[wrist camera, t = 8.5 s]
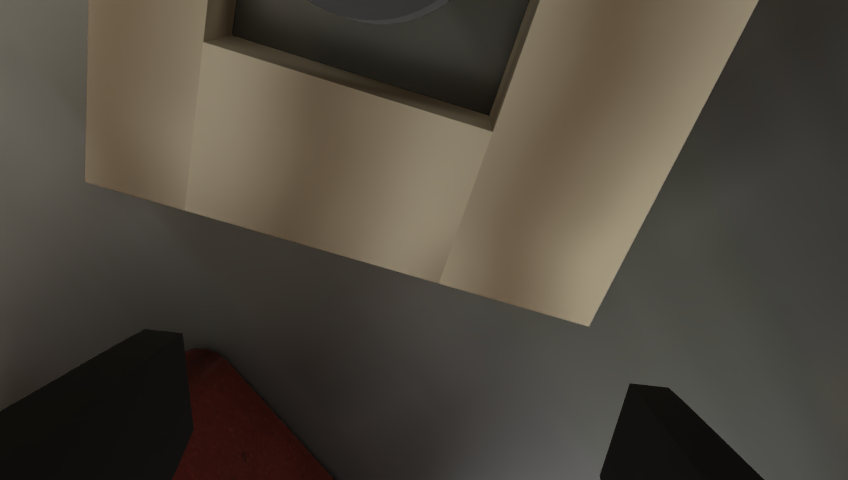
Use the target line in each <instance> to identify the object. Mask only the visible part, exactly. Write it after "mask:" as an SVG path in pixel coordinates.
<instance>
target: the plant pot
mask: <svg viewBox="0 0 848 480" xmlns="http://www.w3.org/2000/svg"><path fill="white" fill-rule="evenodd" d="M185 359H186V367H187V376H188V384H189V392H190V401H191V409H192V418H193V426H194V430H193V433H192V435H191V437H190V440H189V442H188V444H187V447H186V449H185V451H184V454H183V456H182V459H181V461H180V463H179V465H178V467H177V470H176V472H175V474H174V476H173V478H172V480H334V479H333V478H332V477H331V476H330V474H329V473H328V472H327V471H326V470H325V469H324V468H323V467H322V466H321V464H320V463H319V462H318V461H317V460H316V459H315V458H314V457H313V455H312V454H311V453H310V452H309V451H308V450H307V449H306V448H305V446H304V445H303V444H302V443H301V442H300V441H299V440H298V439H297V438H296V437H295V436H294V435H293V433H292V432H291V431H290V430H289V429H288V427H287V426H286V425H285V424H284V423H283V422H282V421H281V420H280V419H279V418H278V417H277V416H276V415H275V413H274V412H273V411H272V410H271V409H270V408H269V407H268V406H267V404H266V403H265V402H264V401H263V400H262V399H261V398H260V397H259V395H258V394H257V393H256V392H255V391H254V390H253V389H252V388H251V387H250V386H249V385H248V384H247V382H246V381H245V380H244V379H243V378H242V377H241V376H240V374H239V373H238V372H237V371H236V370H235V369H234V368H233V367H232V366H231V364H230V363H229V362H228V361H227V360H226V359H225V358H223V357H222V356H221V355H220V354H218V353H215V352H213V351H210V350H208V349H191V350H188V351H186V352H185Z"/></svg>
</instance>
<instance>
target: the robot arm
mask: <svg viewBox="0 0 848 480" xmlns="http://www.w3.org/2000/svg"><path fill="white" fill-rule="evenodd" d="M193 430H194V426H193V418H192V409H191V401H190V392H189V384H188V376H187V367H186V359H185V350H184V342H183V334H182V333H174V332H165V331H156V330H147V329H145V330H143V331H141V332H139V333H137V334H135V335H133V336H131V337H129V338H128V339H126V340H124V341H122V342H120V343H119V344H117V345H115V346H113V347H111V348H110V349H108V350H106V351H104V352H103V353H101V354H99V355H98V356H96V357H94V358H92V359H91V360H89V361H87V362H85V363H84V364H82V365H80V366H79V367H77V368H75V369H73V370H72V371H70V372H68V373H67V374H65V375H63V376H61V377H60V378H58V379H56V380H54V381H53V382H51V383H49V384H47V385H46V386H44V387H42V388H40V389H39V390H37V391H35V392H33V393H32V394H30V395H28V396H26V397H25V398H23V399H21V400H19V401H18V402H16V403H14V404H12V405H11V406H9V407H7V408H5V409H3V410H2V411H0V480H172V478H173V476H174V474H175V472H176V470H177V467H178V465H179V463H180V461H181V459H182V456H183V454H184V451H185V449H186V447H187V444H188V442H189V440H190V437H191V435H192V433H193ZM600 479H601V480H764V479H763V478H762V477H761V476H760V475H759V474H758V473H757V472H756V471H755V470H754V469H753V468H752V467H750V466H749V465H748V464H747V463H746V462H745V461H744V460H743V459H742V458H741V457H740V456H739V455H738V454H737V453H736V452H735V451H734V450H733V449H732V448H731V447H730V446H729V445H728V444H727V443H726V442H725V441H724V440H723V439H722V438H721V437H720V436H719V435H718V434H717V433H716V432H715V431H714V430H713V429H712V428H710V427H709V426H708V425H707V424H706V423H705V422H704V421H703V420H702V419H701V418H700V417H699V416H698V415H697V414H696V413H695V412H694V411H693V410H692V409H691V408H690V407H689V406H688V405H687V404H686V403H685V402H684V401H682V400H681V399H680V398H679V397H678V396H677V395H676V394H675V393H674V392H673V391H671V390H670V389H669V388H666V387H657V386H648V385H639V384H630V385H629V388H628V391H627V394H626V397H625V400H624V403H623V406H622V409H621V412H620V415H619V419H618V422H617V425H616V428H615V431H614V434H613V437H612V440H611V443H610V446H609V449H608V452H607V455H606V458H605V461H604V464H603V468H602V471H601V474H600Z"/></svg>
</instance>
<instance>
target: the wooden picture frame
mask: <svg viewBox="0 0 848 480" xmlns="http://www.w3.org/2000/svg"><path fill="white" fill-rule="evenodd" d="M758 1H759V0H529V3H528V6H527V9H526V12H525V15H524V17H523V20H522V23H521V26H520V29H519V32H518V35H517V37H516V40H515V43H514V46H513V49H512V52H511V55H510V57H509V60H508V63H507V66H506V69H505V72H504V75H503V78H502V80H501V83H500V86H499V89H498V92H497V95H496V98H495V100H494V103H493V106H492V109H491V112H490V115H489V116H488V115H485V114H482V113H479V112H475V111H472V110H469V109H466V108H463V107H460V106H456V105H453V104H450V103H447V102H444V101H440V100H437V99H434V98H431V97H428V96H424V95H421V94H418V93H415V92H412V91H408V90H405V89H402V88H399V87H396V86H392V85H389V84H386V83H383V82H380V81H376V80H373V79H370V78H367V77H364V76H360V75H357V74H354V73H351V72H348V71H344V70H341V69H338V68H335V67H332V66H328V65H325V64H322V63H319V62H316V61H312V60H309V59H306V58H303V57H300V56H296V55H293V54H290V53H287V52H284V51H280V50H277V49H274V48H271V47H268V46H264V45H261V44H258V43H255V42H252V41H248V40H245V39H242V38H239V37H236V36H232V30H233V23H234V15H235V7H236V0H89V3H88V50H87V98H86V146H85V182H87V183H90V184H94V185H97V186H101V187H104V188H108V189H111V190H115V191H118V192H122V193H125V194H129V195H132V196H136V197H139V198H143V199H146V200H150V201H153V202H157V203H160V204H164V205H167V206H171V207H174V208H177V209H181V210H184V211H188V212H191V213H195V214H198V215H202V216H205V217H209V218H212V219H216V220H219V221H223V222H226V223H230V224H233V225H237V226H240V227H244V228H247V229H251V230H254V231H258V232H261V233H264V234H268V235H271V236H275V237H278V238H282V239H285V240H289V241H292V242H296V243H299V244H303V245H306V246H310V247H313V248H317V249H320V250H324V251H327V252H331V253H334V254H338V255H341V256H345V257H348V258H351V259H355V260H358V261H362V262H365V263H369V264H372V265H376V266H379V267H383V268H386V269H390V270H393V271H397V272H400V273H404V274H407V275H411V276H414V277H418V278H421V279H425V280H428V281H432V282H435V283H439V284H442V285H445V286H449V287H452V288H456V289H459V290H463V291H466V292H470V293H473V294H477V295H480V296H484V297H487V298H491V299H494V300H498V301H501V302H505V303H508V304H512V305H515V306H519V307H522V308H526V309H529V310H532V311H536V312H539V313H543V314H546V315H550V316H553V317H557V318H560V319H564V320H567V321H571V322H574V323H578V324H581V325H585V326H588V327H589V325H590V324H591V322H592V320H593V318H594V316H595V314H596V312H597V310H598V308H599V306H600V304H601V302H602V300H603V299H604V297H605V295H606V293H607V291H608V289H609V287H610V285H611V283H612V281H613V279H614V277H615V276H616V274H617V272H618V270H619V268H620V266H621V264H622V262H623V260H624V258H625V256H626V254H627V252H628V251H629V249H630V247H631V245H632V243H633V241H634V239H635V237H636V235H637V233H638V231H639V229H640V227H641V226H642V224H643V222H644V220H645V218H646V216H647V214H648V212H649V210H650V208H651V206H652V204H653V203H654V201H655V199H656V197H657V195H658V193H659V191H660V189H661V187H662V185H663V183H664V181H665V179H666V178H667V176H668V174H669V172H670V170H671V168H672V166H673V164H674V162H675V160H676V158H677V156H678V154H679V153H680V151H681V149H682V147H683V145H684V143H685V141H686V139H687V137H688V135H689V133H690V131H691V130H692V128H693V126H694V124H695V122H696V120H697V118H698V116H699V114H700V112H701V110H702V108H703V106H704V105H705V103H706V101H707V99H708V97H709V95H710V93H711V91H712V89H713V87H714V85H715V83H716V82H717V80H718V78H719V76H720V74H721V72H722V70H723V68H724V66H725V64H726V62H727V60H728V58H729V57H730V55H731V53H732V51H733V49H734V47H735V45H736V43H737V41H738V39H739V37H740V35H741V33H742V32H743V30H744V28H745V26H746V24H747V22H748V20H749V18H750V16H751V14H752V12H753V10H754V9H755V7H756V5H757V3H758Z"/></svg>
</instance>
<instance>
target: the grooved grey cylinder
mask: <svg viewBox="0 0 848 480" xmlns="http://www.w3.org/2000/svg"><path fill="white" fill-rule="evenodd" d="M308 1H310V2H311V3H313V4H314V5H316V6H318V7H320V8H322V9H324V10H327V11H329V12H331V13H334V14H336V15H338V16H341V17H344V18H347V19H350V20H353V21H357V22H362V23H367V24H383V25H384V24H395V23H402V22H406V21H410V20H414V19H417V18H419V17H422V16H424V15H427V14H429V13H431V12H433V11H434V10H436V9H438V8H440V7H442V6H443V5H444V4H446V3H447V2H448V1H450V0H308Z"/></svg>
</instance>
